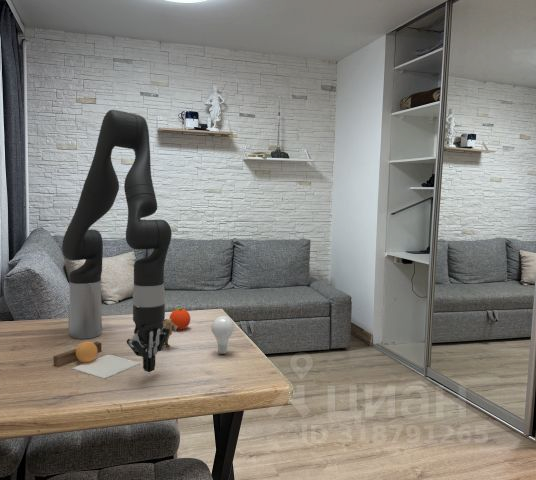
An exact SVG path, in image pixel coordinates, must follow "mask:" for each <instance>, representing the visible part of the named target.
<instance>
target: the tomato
mask: <svg viewBox="0 0 536 480" xmlns="http://www.w3.org/2000/svg"><path fill="white" fill-rule="evenodd" d="M168 319H172V322H173V323H174V324H175V325H177V326H178V327H177V329H176V330H178V331H179V330H184V329H186V328H187V327H188V326H189V325H190V322H191V316H190V313H189V311H188V310H186V309H184V308H181V307H177V308H175V309H174V310H173V311H172V312H171V313H170V316H169V318H168Z"/></svg>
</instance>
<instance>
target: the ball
mask: <svg viewBox="0 0 536 480" xmlns="http://www.w3.org/2000/svg"><path fill="white" fill-rule="evenodd" d="M76 348H77V349H76ZM76 348H75V349H76V357H77V359H78V360H77V361H79V362H81V363H84V364H85V363H87V362H90V361H93V360H95V359H96V358H97V355H98V353H97V352H98V350H97V347H96V345H95V344H94V342H92V341H83V342H81V343H79V344H78V345H77V346H76Z"/></svg>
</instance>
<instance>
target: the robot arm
mask: <svg viewBox="0 0 536 480" xmlns="http://www.w3.org/2000/svg"><path fill="white" fill-rule="evenodd" d="M149 133H150V131H149V127H148V123H147V120H146V118H145V117H143V116H142V115H140V114H136V113H132V112H127V111H123V110H122V111H121V110H117V109H110V110H108V111H107V112H105V115H104V116H103V119H102V122H101V126H100V130H99V133H98V138H97V143H96V146H95V151H94V155H93V157H92V161H91V164H90V167H89V170H88V173H87V175H86V178H85V180H84V183H83V186H82V189H81V192H80V197H79V200H78V203H77V207H76V209H75V211H74V213H73V216H72V218H71V220H70V222H69V224H68V227H67V229H66V231H65V233H64V235H63V239H62V245H61V250H62V254H63V256H64V258H65V259H67V260H70V261H82V260H83V261H84V260H85V261H84V263H83V264H82V265H81V266H79V267H78V268H76V269H74V270H72V271H71V272H70V273H69V275H68V276H69V277H68V280H69V281H68V282H69V285H68V286H69V304H68V305H67V306H68V307H67V309H68V310H67V311H68V312H67V315H68V320H67V321H68V335H70V336H71V338H73V339H78V340H79V339H80V340H81V339H83V340H84V339H85V340H86V339H93V338H97V337H99V336H101V335H102V333H103V323H102V319H103V315H102V314H103V313H102V309H103V308H102V274H103V254H104V241H103V237H102V234H101V232H100V231H99V230H97V229H93V228H91V227H92V226H93V225H94V224H95V223H96V222H97V221H99V220H100V219H102V217H104V216H105V215H106V214H107V213H108V212H110V210H111V209H112V207H113V206H114V203H115V201H116V199H117V196H118V193H119V191H120V183H119V182H120V181H119V178H118V175H117V173H116V171H115V168H114V166H113V161H112V154H113V150H114V148H117V147H118V148H124V149H128V150H129V149H130V150H133V153H134V160H133V164H132V165H131V167H130V168H129V170H128V172H127V174H126V176H125V178H124V184H123V185H124V195H125V199H126V203H127V204H126V205H127V206H126V207H127V222H126V223H127V224H126V229H125V241H126V244H127V245H128V246H129V247H130V248H131V249H133V250H135V251H137V250H139V251H140V250H141V251H142V250H152V252H151V254H150V255H149V256H147V257H143V258H140V259H137V260H135V262H134V263H133V290H132V321H133V323H134V324H135V326H134V330H133V334H134V335H133V336H132V337H131V339H130V338H128V339H126V344H127V346H128V347H129V348H130V349H131V351H132V352H133V353H134V354H135V356H137V357H141V358H142V369H143V370H144V372H147V373H151V372H154V371H155V368H156V356H157V354H158V352H161V351H162V349H163V347H164V346H165V341H166V339H167V337H168V334H169V332H170V329H167V328H165V327H163V321H164V320H165V319H166V302H165V301H166V295H165V294H166V293H165V292H166V291H165V283H164V282H165V280H164V279H165V278H164V277H165V275H164V274H165V273H164V271H165V264H166V263H165V262H166V258H167V255H168V251H169V247H170V244H171V240H172V228H171V226H170V224H169V223H168V222H167V221H166V219H144V218H147V217H150V216H152V215H154V214H156V212H157V210H158V203H157V197H156V192H155V189H154V184H153V178H152V167H151V147H150V134H149ZM142 218H143V219H142ZM90 228H91V229H90ZM159 341H160V343H159Z"/></svg>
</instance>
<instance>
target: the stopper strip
mask: <svg viewBox="0 0 536 480" xmlns="http://www.w3.org/2000/svg"><path fill="white" fill-rule="evenodd" d="M93 343H94V344H95V345H96V347H97V350H98V352H97V354H98V353H101V352H102V342H98V341H95V342H93ZM76 349H77V347H76V348H74V349H70V350H68V351H64V352H62V353H58V354H56V355H53V366H54V367H56V368H57V367H58V368H59V367H63V366H66V365H68V364H70V363H73V362H76V361H79V360H78V359H77V357H76Z"/></svg>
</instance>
